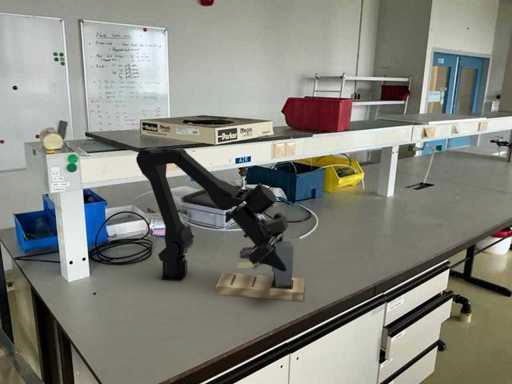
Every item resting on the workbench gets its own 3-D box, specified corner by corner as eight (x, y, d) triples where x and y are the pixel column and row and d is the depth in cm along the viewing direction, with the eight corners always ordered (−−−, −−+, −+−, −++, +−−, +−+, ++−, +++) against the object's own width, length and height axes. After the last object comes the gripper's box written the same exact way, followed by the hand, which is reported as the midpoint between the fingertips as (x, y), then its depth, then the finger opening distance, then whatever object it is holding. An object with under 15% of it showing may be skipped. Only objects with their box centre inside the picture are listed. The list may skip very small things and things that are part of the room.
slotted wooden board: (216, 294, 118) (216, 285, 118) (222, 280, 127) (222, 271, 126) (303, 301, 115) (303, 292, 115) (303, 286, 124) (304, 277, 123)
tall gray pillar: (275, 291, 118) (277, 247, 114) (272, 284, 122) (274, 241, 119) (291, 290, 118) (293, 247, 115) (287, 283, 122) (290, 241, 119)
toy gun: (292, 274, 134) (292, 251, 148) (290, 259, 132) (291, 237, 146) (236, 276, 136) (242, 254, 150) (234, 262, 134) (240, 240, 148)
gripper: (261, 215, 107) (303, 262, 106) (279, 198, 124) (314, 238, 124) (231, 241, 111) (271, 287, 110) (252, 221, 128) (286, 260, 128)
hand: (287, 266), depth 118 cm, fingers closed on tall gray pillar, 6 cm apart
